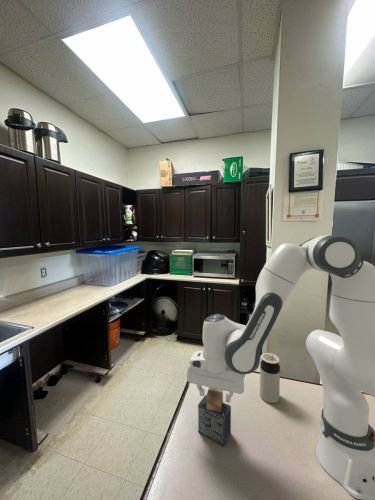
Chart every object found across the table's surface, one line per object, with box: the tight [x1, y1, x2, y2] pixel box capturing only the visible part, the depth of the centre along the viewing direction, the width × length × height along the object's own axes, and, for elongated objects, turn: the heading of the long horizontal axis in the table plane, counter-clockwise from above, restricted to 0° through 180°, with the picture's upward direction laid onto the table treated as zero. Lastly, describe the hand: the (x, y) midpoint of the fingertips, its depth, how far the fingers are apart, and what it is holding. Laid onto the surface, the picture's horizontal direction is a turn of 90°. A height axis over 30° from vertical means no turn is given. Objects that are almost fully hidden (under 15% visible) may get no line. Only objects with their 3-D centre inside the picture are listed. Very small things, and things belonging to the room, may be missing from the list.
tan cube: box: [206, 387, 224, 412], centre depth 75 cm, size 5×5×5 cm
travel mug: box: [259, 352, 281, 404], centre depth 92 cm, size 8×8×18 cm
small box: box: [197, 394, 232, 447], centre depth 75 cm, size 11×6×10 cm, turn 58°
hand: (214, 397), depth 75 cm, fingers open, 8 cm apart
